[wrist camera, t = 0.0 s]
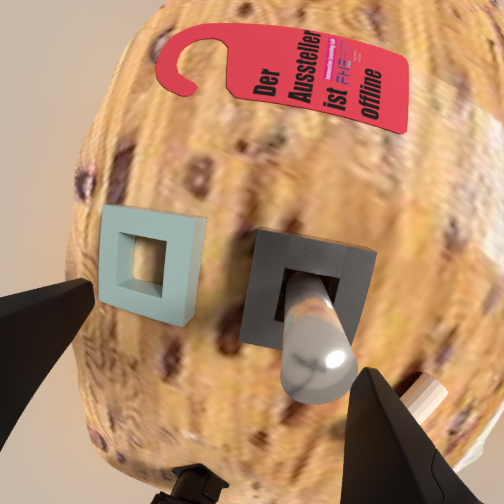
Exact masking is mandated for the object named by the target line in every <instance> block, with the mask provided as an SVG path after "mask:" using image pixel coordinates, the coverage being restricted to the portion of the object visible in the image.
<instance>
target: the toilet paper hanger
mask: <svg viewBox="0 0 504 504" xmlns="http://www.w3.org/2000/svg"><path fill="white" fill-rule="evenodd" d="M447 394H448V392H447V390H446V389H445V387H444V386H443V385H442V384H441V383H440V382H439V381H438V380H436V379H435V378H434V377H433V376H431V375H430V374H428V373H427V372H423V374H422V375H421V376H420V377H419V378H418V379H417V380H416V382H415V383H414V384H413V385H412V386H411V387H410V388H409V389H408V390H407V391H406V392H405V393H404V394H403V396H402V397H401V398H400V399H401V401H402V402H403V403H404V405H405V406H406V407H407V409H408V410H409V411H410V413H411V414H412V415H413V417H414V418H415V419H416V421H417V422H418V424H419V425H420V424H421V423H422V422H423V421H424V420H425V419H426V418H427V417H428V416H429V415H430V414H431V413H432V412H433V411H434V409H435V408H436V407H437V406H438V405H439V404H440V403H441V402H442V400H443V399H444V398H445V397H446V396H447Z"/></svg>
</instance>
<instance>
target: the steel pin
mask: <svg viewBox="0 0 504 504" xmlns="http://www.w3.org/2000/svg"><path fill="white" fill-rule="evenodd" d="M357 373H358V365H357V361H356V359H355V356H354V354H353V351H352V349H351V346H350V344H349V342H348V339H347V337H346V335H345V332H344V330H343V328H342V325H341V323H340V321H339V318H338V316H337V314H336V312H335V309H334V307H333V305H332V303H331V300H330V298H329V296H328V294H327V291H326V289H325V287H324V285H323V283H322V281H321V279H320V278H319V276H318V275H316V274H315V273H310V272H304V271H300V272H297V273H295V274H294V275H292V276H291V277H290V279H289V280H288V282H287V285H286V297H285V316H284V333H283V348H282V362H281V378H280V379H281V384H282V387H283V389H284V390H285V392H286V393H287V394H288V395H289V396H290V397H292V398H293V399H295V400H296V401H299V402H302V403H305V404H324V403H328V402H331V401H334V400H336V399H338V398H340V397H341V396H343V395H344V394H345V393H346V392H348V391H349V389H350V388H351V386H352V384H353V382H354V381H355V379H356V378H357Z"/></svg>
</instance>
